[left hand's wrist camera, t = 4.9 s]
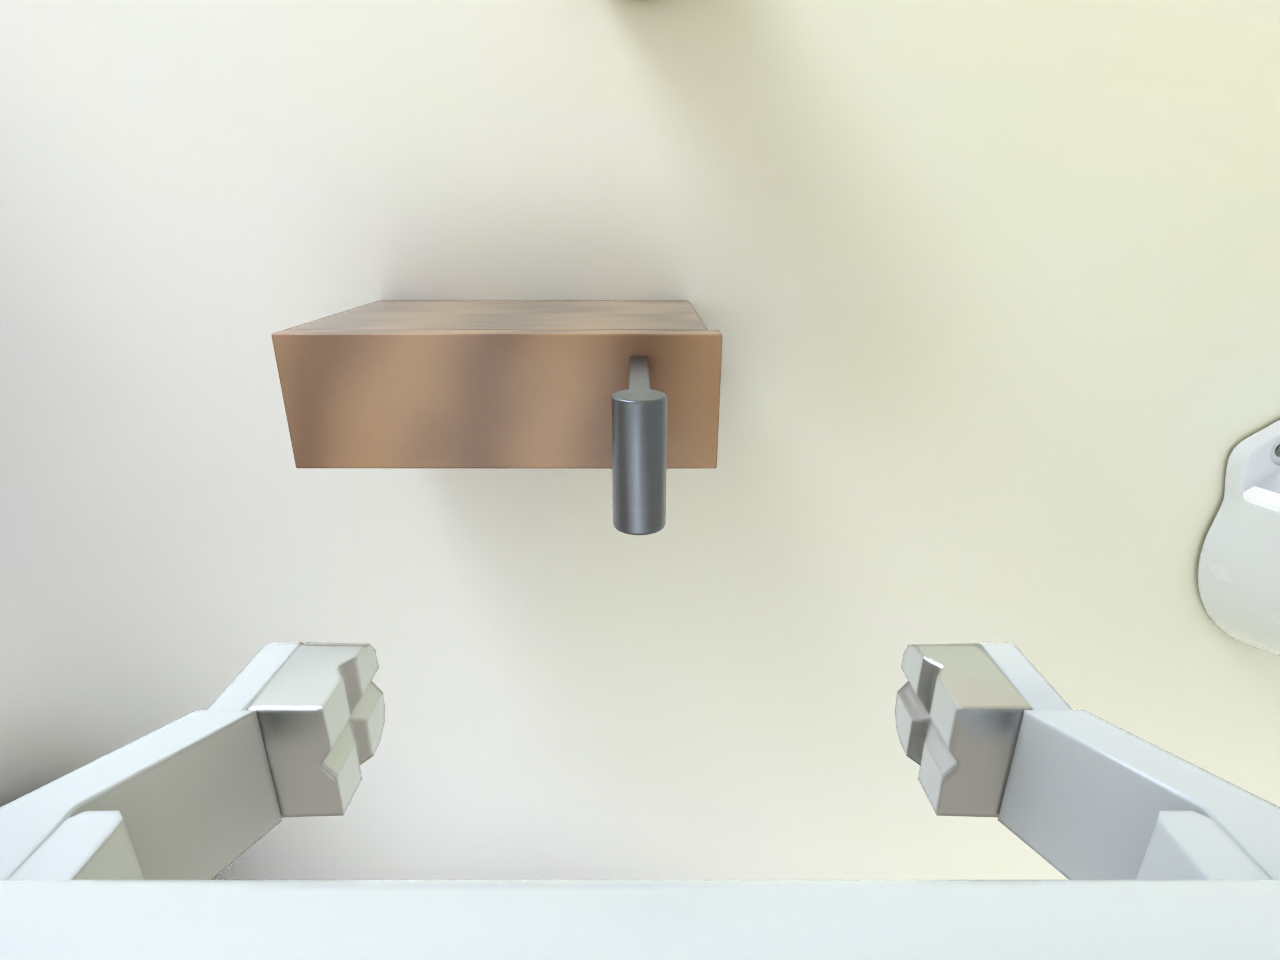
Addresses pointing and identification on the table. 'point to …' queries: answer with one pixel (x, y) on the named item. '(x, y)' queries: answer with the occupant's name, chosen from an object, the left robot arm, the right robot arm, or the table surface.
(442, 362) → the lid
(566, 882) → the left robot arm
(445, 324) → the chest
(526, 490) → the table surface
